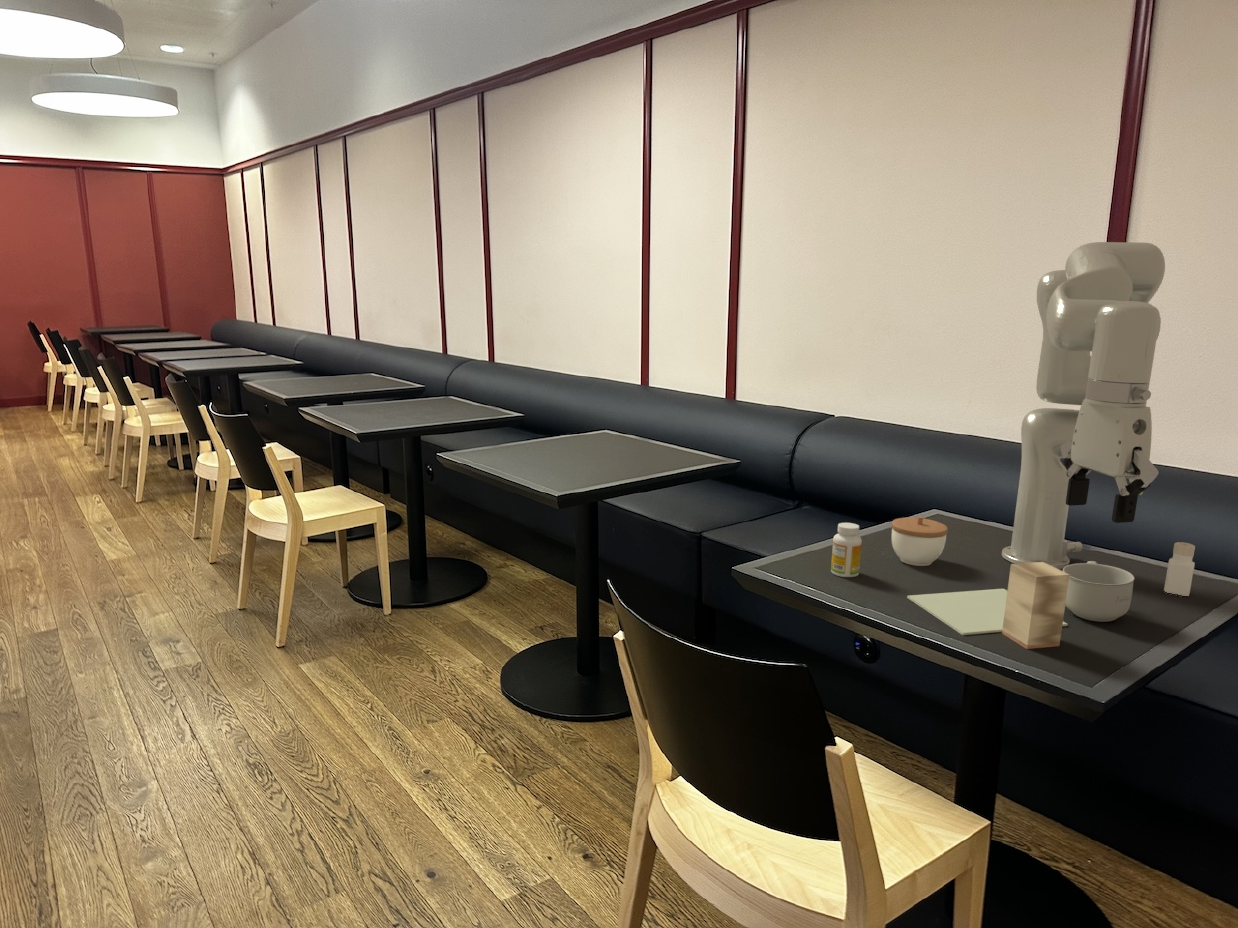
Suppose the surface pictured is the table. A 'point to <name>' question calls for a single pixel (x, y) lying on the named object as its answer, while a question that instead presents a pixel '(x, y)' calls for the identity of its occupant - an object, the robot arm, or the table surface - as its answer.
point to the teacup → (1098, 591)
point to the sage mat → (967, 609)
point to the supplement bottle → (846, 551)
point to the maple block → (1035, 604)
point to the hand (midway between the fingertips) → (1098, 512)
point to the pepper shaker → (1180, 569)
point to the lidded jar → (918, 540)
